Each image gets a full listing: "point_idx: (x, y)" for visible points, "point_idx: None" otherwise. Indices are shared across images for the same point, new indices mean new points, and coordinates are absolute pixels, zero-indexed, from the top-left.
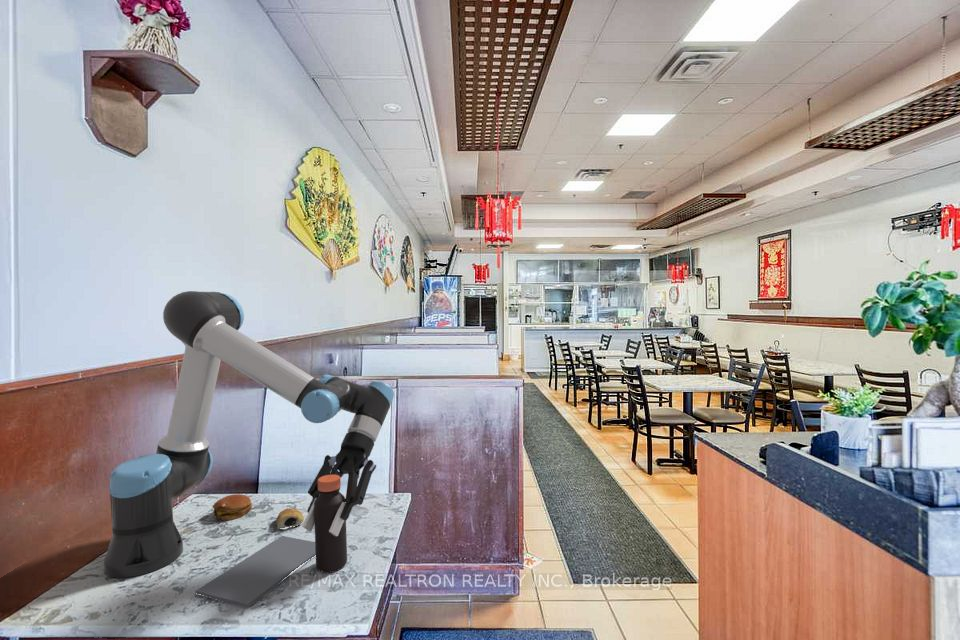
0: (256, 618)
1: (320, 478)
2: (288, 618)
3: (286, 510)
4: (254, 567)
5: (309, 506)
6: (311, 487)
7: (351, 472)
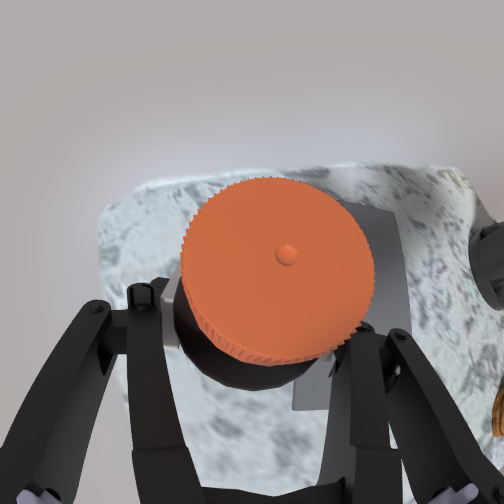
0: None
1: (353, 239)
2: (215, 187)
3: None
4: (375, 282)
5: None
6: (412, 346)
7: (147, 452)
